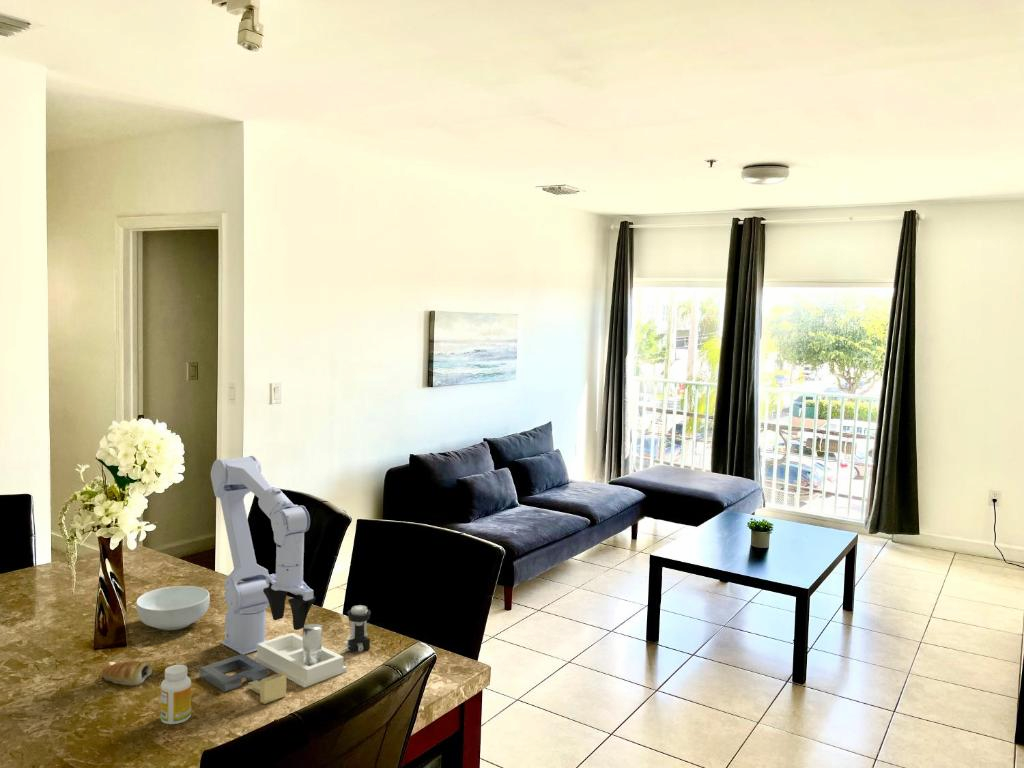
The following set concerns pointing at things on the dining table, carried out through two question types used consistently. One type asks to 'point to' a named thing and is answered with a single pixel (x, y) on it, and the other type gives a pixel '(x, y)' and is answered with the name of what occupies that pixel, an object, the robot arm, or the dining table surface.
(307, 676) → the tray
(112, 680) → the pastry
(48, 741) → the dining table surface
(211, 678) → the socket
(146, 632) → the dining table surface
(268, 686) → the cream block
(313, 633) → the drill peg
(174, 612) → the cereal bowl
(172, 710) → the supplement bottle
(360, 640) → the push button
